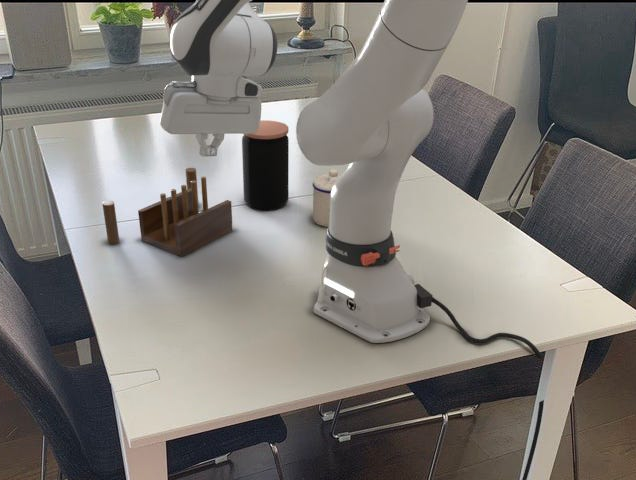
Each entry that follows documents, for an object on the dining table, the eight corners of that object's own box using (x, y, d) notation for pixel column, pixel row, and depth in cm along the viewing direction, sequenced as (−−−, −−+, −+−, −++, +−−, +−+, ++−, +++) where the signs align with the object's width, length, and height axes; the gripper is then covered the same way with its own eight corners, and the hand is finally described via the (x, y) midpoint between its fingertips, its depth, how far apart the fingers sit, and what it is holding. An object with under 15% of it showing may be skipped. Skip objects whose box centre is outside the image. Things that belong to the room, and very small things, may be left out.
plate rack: (232, 230, 168) (230, 181, 162) (181, 256, 158) (176, 204, 151) (193, 216, 174) (189, 168, 167) (141, 240, 164) (135, 190, 157)
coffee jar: (297, 202, 181) (298, 127, 171) (266, 215, 175) (264, 138, 165) (266, 190, 187) (265, 117, 177) (234, 202, 181) (231, 127, 170)
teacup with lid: (355, 226, 171) (358, 177, 164) (316, 229, 169) (317, 179, 163) (343, 205, 180) (345, 157, 174) (305, 208, 179) (306, 160, 172)
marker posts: (200, 206, 179) (198, 169, 174) (113, 245, 161) (107, 206, 156) (193, 203, 180) (190, 166, 175) (105, 242, 162) (99, 203, 157)
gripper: (173, 84, 133) (167, 162, 139) (269, 87, 144) (259, 159, 151) (157, 75, 137) (151, 151, 143) (251, 79, 148) (242, 149, 155)
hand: (207, 155), depth 148 cm, fingers closed
